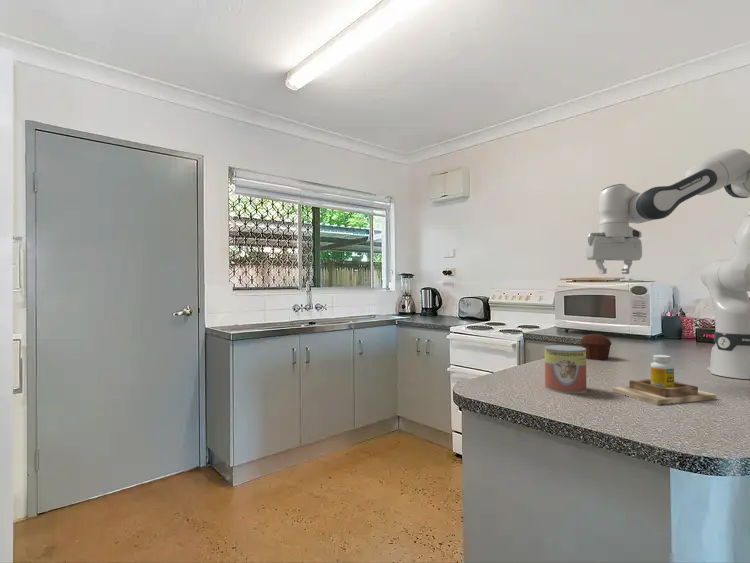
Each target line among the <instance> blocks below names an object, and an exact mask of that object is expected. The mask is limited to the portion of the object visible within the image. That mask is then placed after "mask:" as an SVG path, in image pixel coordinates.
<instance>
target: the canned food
mask: <svg viewBox="0 0 750 563" xmlns="http://www.w3.org/2000/svg"><path fill="white" fill-rule="evenodd" d="M543 348H544V389H546V390H548V391H552V392H555V393H560V394H561V393H563V394H573V393H575V394H584V393H586V392H587V391H588V389H587V359H586V348H583V347H582V346H577V345H568V344H567V345H566V344H565V345H564V344H563V345H562V344H551V345H545V346H544V347H543Z"/></svg>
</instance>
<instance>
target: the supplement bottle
mask: <svg viewBox="0 0 750 563" xmlns="http://www.w3.org/2000/svg"><path fill="white" fill-rule="evenodd" d="M652 357H653V358H652V360H653V361H654V362H651V363H650V379H651V385H654V386H658V387H662V388H671V387H674V382H675V367H674V365H673V364H672V363H670V362H672V357H671V355H666V354H665V355H664V354H654V355H653V356H652Z"/></svg>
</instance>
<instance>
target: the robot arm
mask: <svg viewBox="0 0 750 563" xmlns="http://www.w3.org/2000/svg"><path fill="white" fill-rule="evenodd" d="M683 177H684V178H682V179H681V180H679V181H677V182H675V183H672V184H671V185H670V184H669V185H667V186H665V185H662V186H654V187H651V188H649V189H647V190H645V191H642V192H639V191H635V190H633V189H632V188H630V187H628V186H627V185H626V184H625V183H617V184H613V185H610V186H607V187H605V188H603V189H602V190H601V191H600V194H599V199H598V214H599V223H598V232H595V231H594V232H591V233H589V235H588V237H587V244H586V251H585V257H586V259H587V261H595V265H596V267H597V268H598V274H599V275H603V274H604V275H605V274H607V268H605V265H604V264H605V261H623V265H624V266H623V268H621V274H622V275H629V274H630V269H631V268H632V265H633V261H640V260H641V259H642V257H643V243H642V240H641V239H640V238H642V236H643V235H642V234H643V233H642V232H641V230H638V229H636V228H633V227H631V226H630V224H643V223H646V222H647V223H648V222H651V221H653V220H654V221H655V220H656V221H657V220H662V219H665V218H667V217H669V216H670V215H671V214H672V213H673V212H674V211H675V210H676V208H678V207H679V205H680V204H682V203H684V202H685V201H688V200H689V199H691V198H693V197H695V196H703V195H707V194H710V193H714V192H716V191H718V190H719V191H720V190H721V189H723V188H724V190H725V192H726V193H727V194H728V195H729V196H731V197H732V198H737V199H748V198H750V153H749V152H748V151H747V150H744V149H743V148H733V149H728V150H725V151H721V152H719V153H716V154H714V155H711V156H709V157H707V158H704V159H703V160H700V161H699V162H698V163H695V164H694V165H693V166H691V167H689V168H688V169H687V170H686V171H685V173H684V176H683ZM733 242H734V244H735V250H734V254H733V256H732V257H731V258H727V259H718V260H715V261H713V262H712V261H711V263H708V264H706V265H705V266H703V268H702V269H701V272H700V280H701V282H702V284H703V285H704V286H705V287H706V288H707V290H708V292H709V294H710V297H711V301H712V304H713V308H714V323H715V324H714V326H715V328H714V330H715V331H714V332H713V342H714V345H713V346H712V348H711V351H710V352H711V354H710V355H711V356H710V362H709V363H710V364H709V366H707V371H708V372H709V373H710V374H712V375H715V376H718V377H719V376H721V377H725V378H726V377H727V378H733V379H741V380H742V379H743V380H750V297H749V294H748V292H750V209H748V211H747V213H746V214H745V216H744V218H743V220H742V222H741V223H740V226H739V227H738V229H737V231H736V232H735V234H734V237H733Z"/></svg>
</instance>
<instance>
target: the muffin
mask: <svg viewBox="0 0 750 563" xmlns="http://www.w3.org/2000/svg"><path fill="white" fill-rule="evenodd" d="M579 341H580V342H579V343H580V344H581V347H583V348H586V360H592V361H593V360H594V361H606V360H608V361H609V356H610V352H611V350H610V349H611V345H612V342H611V340H610V339H609V338H608V337H607V336H605V335H603V334H599V333H588V334H586V335H584V336H583V337H582V338H581V339H580V340H579Z"/></svg>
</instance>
